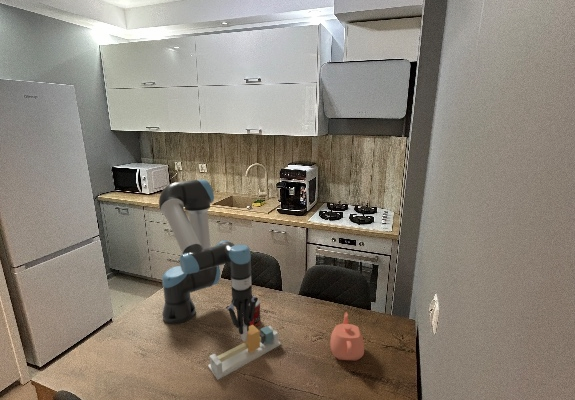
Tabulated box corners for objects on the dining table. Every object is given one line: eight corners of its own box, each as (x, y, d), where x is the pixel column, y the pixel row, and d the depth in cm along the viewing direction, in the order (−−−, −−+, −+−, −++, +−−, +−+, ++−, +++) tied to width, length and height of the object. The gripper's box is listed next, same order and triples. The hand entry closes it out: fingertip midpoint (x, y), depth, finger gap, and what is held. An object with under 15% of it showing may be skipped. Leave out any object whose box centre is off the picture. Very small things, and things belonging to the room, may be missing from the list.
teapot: (359, 335, 136) (361, 311, 133) (366, 371, 117) (368, 344, 114) (329, 334, 137) (329, 309, 134) (330, 369, 118) (331, 342, 115)
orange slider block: (243, 346, 127) (242, 329, 125) (253, 340, 130) (252, 324, 128) (249, 352, 123) (248, 336, 121) (260, 347, 126) (259, 330, 124)
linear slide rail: (208, 366, 120) (206, 351, 118) (269, 334, 137) (269, 321, 135) (217, 380, 114) (216, 364, 112) (280, 344, 131) (280, 330, 129)
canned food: (257, 329, 141) (257, 307, 138) (241, 327, 143) (240, 305, 140) (262, 318, 148) (261, 298, 145) (246, 316, 150) (245, 296, 147)
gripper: (231, 295, 110) (234, 352, 116) (261, 283, 118) (263, 337, 124) (221, 287, 116) (224, 341, 122) (250, 276, 124) (252, 327, 130)
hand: (244, 339), depth 123 cm, fingers closed
